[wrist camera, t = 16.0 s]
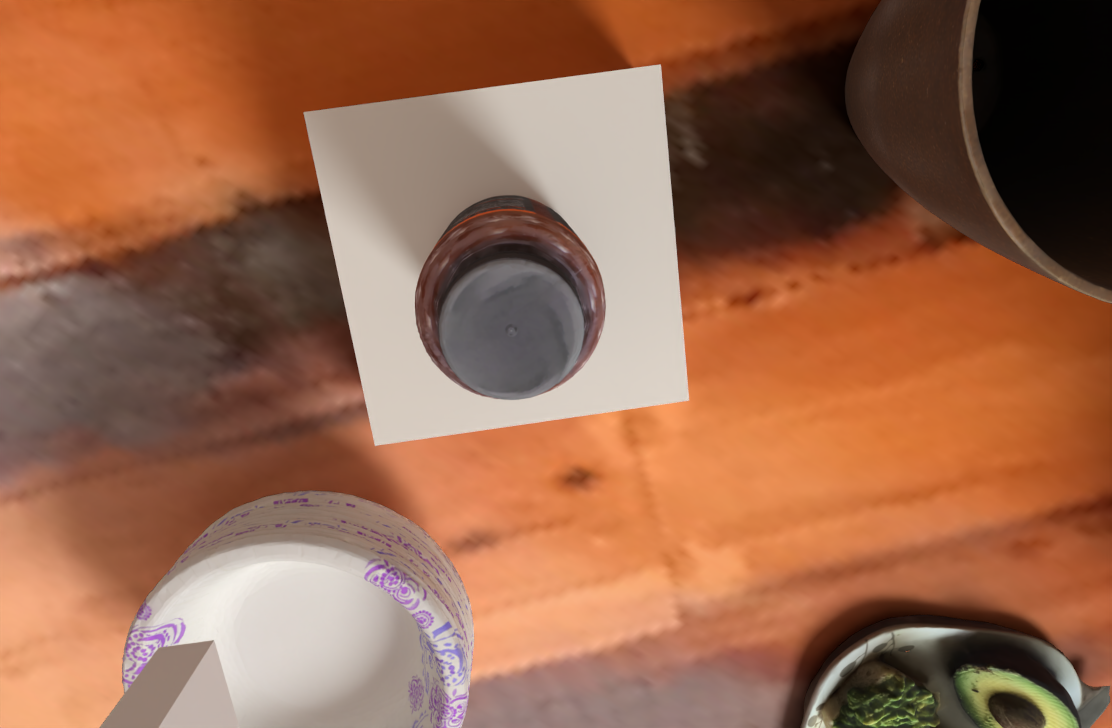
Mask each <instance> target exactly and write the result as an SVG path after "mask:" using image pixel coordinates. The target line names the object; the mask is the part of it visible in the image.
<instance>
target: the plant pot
mask: <svg viewBox="0 0 1112 728" xmlns="http://www.w3.org/2000/svg"><path fill="white" fill-rule="evenodd" d="M976 59H981V60H983V62H984V66H983V68H982V69H981V70H980V71H974V70H973V63H974V61H975V60H976ZM845 103H846V109H847V114H848V117H849V120H850V123H851V125H852V127H853V129H854V131H855V134H856V135H857V137H858V138H859V140H860V142H861V143H862V145H863V146H864V148H865V149H866V150H867V152H868V153H869V155H870V156H871V157H872V158H873V160H874V161H875V162H876V163H877V164H878V165H879V166H880V168H881V169H882V170H883V171H884V172H885V173H886V174H887V175H888V176H889V177H890V178H891V179H892V180H893V181H894V182H895V183H896V184H897V185H898V186H899V187H900V188H902V189H903V190H904V191H905V192H906V193H907V194H909V195H910V196H911V197H912V198H914V199H915V200H916V201H917V202H918V203H920V204H921V205H922V206H923V207H925V208H926V209H927V210H929V211H930V212H932V213H933V214H934V215H936V216H937V217H939V218H940V219H942V220H943V221H945V222H946V223H948V224H949V225H951V226H952V227H954V228H955V229H957V230H958V231H960V232H961V233H963V234H964V235H966V236H968V237H969V238H971V239H973V240H974V241H976V242H978V243H979V244H981V245H983V246H985V247H986V248H988V249H990V250H992V251H994V252H996V253H998V254H1000V255H1002V256H1004V257H1006V258H1007V259H1009V260H1012V261H1014V262H1016V263H1018V264H1020V265H1022V266H1024V267H1026V268H1028V269H1030V270H1032V271H1034V272H1036V273H1039V274H1041V275H1043V276H1045V277H1047V278H1050V279H1052V280H1054V281H1056V282H1058V283H1061V284H1063V285H1065V286H1067V287H1069V288H1072V289H1074V290H1076V291H1079V292H1081V293H1084V294H1086V295H1089V296H1091V297H1094V298H1096V299H1099V300H1101V301H1104V302H1108V303H1111V304H1112V0H881V2H880V3H879V5H878V6H877V8H876V10H875V11H874V13H873V14H872V16H871V18H870V20H869V21H868V23H867V25H866V27H865V29H864V31H863V33H862V35H861V37H860V39H859V41H858V43H857V45H856V47H855V50H854V52H853V55H852V58H851V60H850V63H849V66H848V70H847V75H846V82H845Z"/></svg>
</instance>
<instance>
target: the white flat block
mask: <svg viewBox="0 0 1112 728" xmlns="http://www.w3.org/2000/svg"><path fill="white" fill-rule="evenodd" d="M303 113H304V117H305V122H306V127H307V131H308V136H309V141H310V145H311V150H312V155H313V159H314V164H315V169H316V173H317V178H318V183H319V187H320V192H321V197H322V201H323V206H324V210H325V215H326V220H327V224H328V229H329V234H330V238H331V243H332V248H333V252H334V257H335V262H336V266H337V271H338V276H339V280H340V285H341V290H342V294H343V299H344V304H345V308H346V313H347V318H348V322H349V327H350V332H351V336H352V341H353V346H354V350H355V355H356V360H357V364H358V369H359V374H360V378H361V383H362V388H363V392H364V397H365V402H366V406H367V411H368V415H369V420H370V425H371V429H372V434H373V439H374V443H375V446H377V445H384V444H391V443H398V442H405V441H412V440H419V439H426V438H432V437H439V436H446V435H453V434H460V433H467V432H474V431H481V430H488V429H495V428H502V427H509V426H516V425H523V424H530V423H536V422H543V421H550V420H557V419H564V418H571V417H578V416H585V415H592V414H599V413H606V412H613V411H620V410H627V409H634V408H640V407H647V406H654V405H661V404H668V403H675V402H682V401H689V394H688V382H687V370H686V358H685V346H684V334H683V322H682V311H681V299H680V287H679V275H678V263H677V251H676V239H675V227H674V216H673V204H672V192H671V180H670V168H669V156H668V144H667V132H666V121H665V109H664V97H663V85H662V73H661V64H660V65H653V66H645V67H638V68H630V69H623V70H615V71H608V72H600V73H593V74H585V75H578V76H570V77H563V78H556V79H548V80H541V81H533V82H526V83H518V84H511V85H503V86H496V87H488V88H481V89H473V90H466V91H458V92H451V93H443V94H436V95H428V96H421V97H413V98H406V99H398V100H391V101H383V102H376V103H368V104H361V105H353V106H346V107H339V108H331V109H324V110H316V111H309V112H303ZM502 195H517V196H523V197H527V198H530V199H533V200H536V201H538V202H540V203H542V204H544V205H545V206H547V207H549V208H551V209H552V210H554V211H555V212H556V213H558V214H559V215H560V216H561V217H562V218H563V219H564V220H565V221H566V222H567V224H568V225H569V226H570V227H571V228H572V229H573V231H574V232H575V233H576V234H577V236H578V237H579V238H580V240H581V241H582V242H583V243H584V245H585V246H586V247H587V249H588V250H589V252H590V254H591V255H592V257H593V258H594V260H595V262H596V264H597V266H598V269H599V271H600V274H601V277H602V281H603V286H604V291H605V300H606V311H605V321H604V327H603V330H602V333H601V336H600V339H599V341H598V344H597V346H596V348H595V350H594V352H593V353H592V355H591V357H590V358H589V360H588V361H587V362H586V363H585V365H584V366H583V368H582V369H581V370H579V371H578V372H577V373H576V374H575V375H574V376H573V377H572V378H571V379H569V380H568V381H567V382H565V383H564V384H562V385H561V386H559V387H558V388H555V389H553V390H551V391H549V392H546V393H544V394H541V395H538V396H535V397H532V398H526V399H520V400H503V399H493V398H489V397H483V396H481V395H477V394H475V393H472V392H470V391H468V390H466V389H464V388H462V387H461V386H459V385H458V384H456V383H455V382H453V381H452V380H451V379H449V378H448V377H447V376H446V375H445V374H444V373H443V372H442V371H441V370H440V369H439V368H438V367H437V366H436V365H435V364H434V363H433V362H432V360H431V358H430V356H429V355H428V353H427V352H426V349H425V347H424V345H423V342H422V340H421V339H420V335H419V332H418V328H417V326H416V316H415V291H416V287H417V282H418V279H419V275H420V273H421V270H422V268H423V265H424V263H425V262H426V260H427V258H428V256H429V255H430V253H431V251H432V250H433V248H434V246H435V245H436V243H437V242H438V240H439V239H440V237H441V236H442V235H443V233H444V231H445V230H446V229H447V227H448V226H449V225H450V223H451V222H452V221H453V219H455V217H456V216H457V215H458V214H460V213H461V212H462V211H464V210H465V209H466V208H468V207H470V206H471V205H473V204H474V203H477V202H479V201H481V200H484V199H487V198H490V197H494V196H502Z"/></svg>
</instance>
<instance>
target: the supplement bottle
mask: <svg viewBox="0 0 1112 728" xmlns="http://www.w3.org/2000/svg"><path fill="white" fill-rule="evenodd" d="M605 311H606V300H605V291H604V286H603V281H602V277H601V274H600V271H599V269H598V266H597V264H596V262H595V260H594V258H593V257H592V255H591V254H590V252H589V250H588V249H587V247H586V246H585V245H584V243H583V242H582V241H581V240H580V238H579V237H578V236H577V234H576V233H575V232H574V231H573V229H572V228H571V227H570V226H569V225H568V224H567V222H566V221H565V220H564V219H563V218H562V217H561V216H560V215H559V214H558V213H556V212H555V211H554V210H552V209H551V208H549V207H547V206H545V205H544V204H542V203H540V202H538V201H536V200H533V199H530V198H527V197H523V196H517V195H502V196H494V197H490V198H487V199H484V200H481V201H479V202H477V203H474V204H473V205H471V206H470V207H468V208H466V209H465V210H464V211H462V212H461V213H460V214H458V215H457V216H456V217H455V219H453V221H452V222H451V223H450V225H449V226H448V227H447V229H446V230H445V231H444V233H443V235H442V236H441V237H440V239H439V240H438V242H437V243H436V245H435V246H434V248H433V250H432V251H431V253H430V255H429V256H428V258H427V260H426V262H425V263H424V265H423V268H422V270H421V273H420V275H419V279H418V282H417V287H416V291H415V316H416V326H417V328H418V332H419V335H420V339H421V340H422V342H423V345H424V347H425V349H426V352H427V353H428V355H429V356H430V358H431V360H432V362H433V363H434V364H435V365H436V366H437V367H438V368H439V369H440V370H441V371H442V372H443V373H444V374H445V375H446V376H447V377H448V378H449V379H451V380H452V381H453V382H455V383H456V384H458V385H459V386H461V387H462V388H464V389H466V390H468V391H470V392H472V393H475V394H477V395H481V396H483V397H489V398H493V399H503V400H520V399H526V398H532V397H535V396H538V395H541V394H544V393H546V392H549V391H551V390H553V389H555V388H558V387H559V386H561V385H562V384H564V383H565V382H567V381H568V380H569V379H571V378H572V377H573V376H574V375H575V374H576V373H577V372H578V371H579V370H581V369H582V368H583V366H584V365H585V363H586V362H587V361H588V360H589V358H590V357H591V355H592V353H593V352H594V350H595V348H596V346H597V344H598V341H599V339H600V336H601V333H602V330H603V327H604V321H605Z"/></svg>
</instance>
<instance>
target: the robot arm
mask: <svg viewBox="0 0 1112 728" xmlns="http://www.w3.org/2000/svg"><path fill="white" fill-rule="evenodd" d="M100 728H239V724H238V721H237V717H236V714H235V710H234V707H233V704H232V700H231V697H230V693H229V690H228V686H227V683H226V679H225V676H224V672H223V669H222V665H221V662H220V659H219V655H218V652H217V648H216V645H215V641H214V640H211V641H204V642H196V643H189V644H182V645H174V646H167V647H159V648H158V649H157V651H156V652H155V653H154V655H153V656H152V657H151V659H150V660H149V661H148V663H147V664H146V665H145V667H144V668H143V670H142V671H141V672H140V674H139V675H138V676H137V678H136V679H135V680H134V682H133V683H132V684H131V686H130V687H129V688H128V690H127V691H126V693H125V694H124V695H123V697H122V698H121V699H120V701H119V702H118V703H117V705H116V706H115V707H114V709H113V710H112V711H111V713H110V714H109V716H108V717H107V718H106V720H105V721H104V722H103V724H102V725H101V726H100Z"/></svg>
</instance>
